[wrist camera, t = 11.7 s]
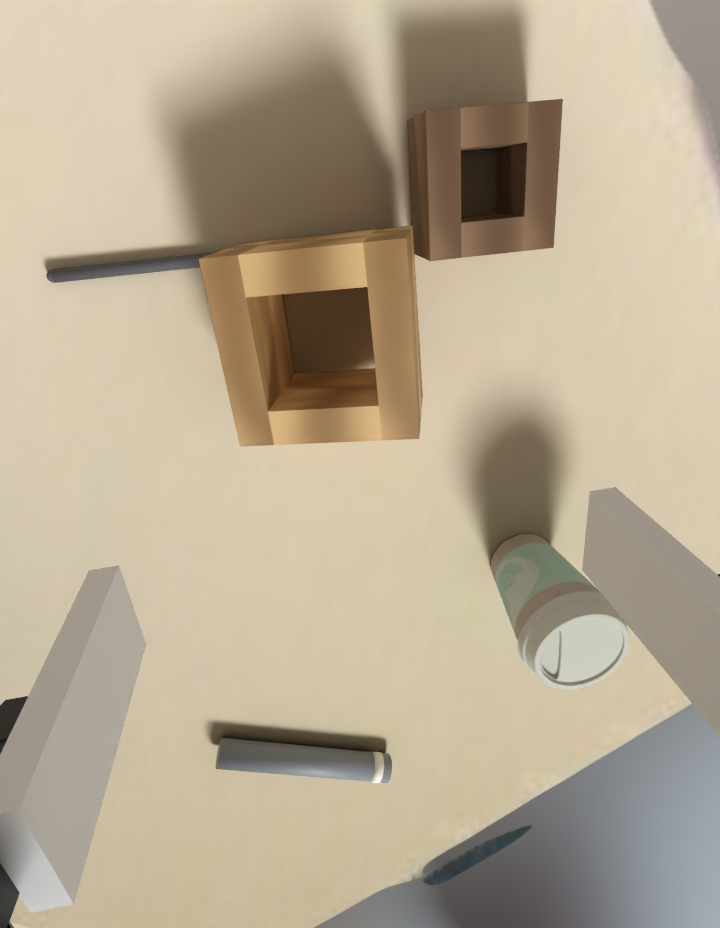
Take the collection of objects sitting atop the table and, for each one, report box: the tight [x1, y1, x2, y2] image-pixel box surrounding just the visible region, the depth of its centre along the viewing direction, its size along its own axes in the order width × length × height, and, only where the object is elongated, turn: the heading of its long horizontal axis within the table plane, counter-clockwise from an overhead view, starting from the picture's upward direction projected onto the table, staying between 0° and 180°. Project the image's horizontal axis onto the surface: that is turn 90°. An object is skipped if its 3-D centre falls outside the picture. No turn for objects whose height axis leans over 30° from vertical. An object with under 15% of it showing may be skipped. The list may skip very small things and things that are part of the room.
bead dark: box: [407, 99, 563, 261], centre depth 36 cm, size 8×8×5 cm
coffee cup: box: [491, 534, 630, 689], centre depth 47 cm, size 9×8×12 cm
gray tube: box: [216, 738, 392, 783], centre depth 59 cm, size 3×3×18 cm
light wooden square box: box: [199, 226, 422, 446], centre depth 36 cm, size 12×12×8 cm
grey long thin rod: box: [47, 253, 213, 283], centre depth 38 cm, size 17×1×1 cm, turn 95°
